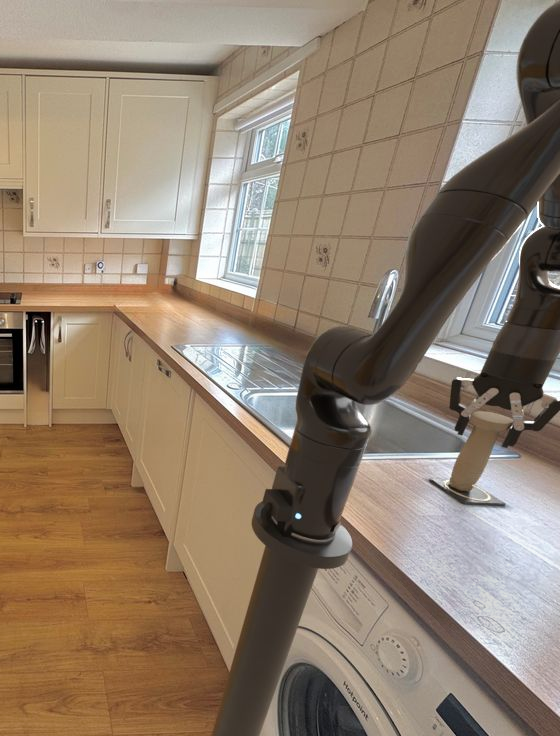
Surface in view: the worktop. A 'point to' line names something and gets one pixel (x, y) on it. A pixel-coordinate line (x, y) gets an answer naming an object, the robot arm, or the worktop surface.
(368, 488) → the worktop surface
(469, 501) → the slate board
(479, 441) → the handle
